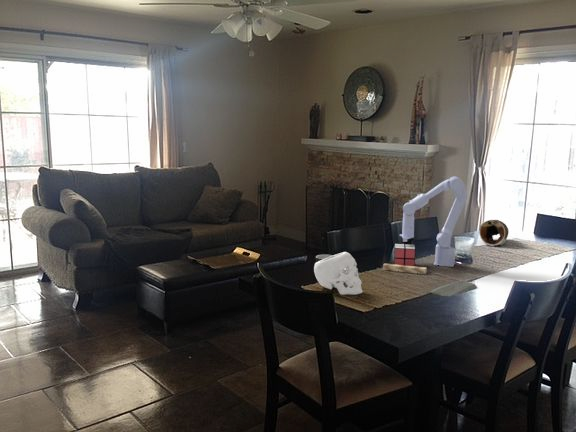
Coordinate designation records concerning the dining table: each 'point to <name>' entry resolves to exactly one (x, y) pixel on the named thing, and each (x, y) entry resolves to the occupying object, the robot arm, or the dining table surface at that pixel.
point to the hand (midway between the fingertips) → (407, 253)
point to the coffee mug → (322, 257)
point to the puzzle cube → (404, 254)
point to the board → (404, 268)
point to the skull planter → (339, 273)
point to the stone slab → (454, 288)
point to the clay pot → (493, 232)
